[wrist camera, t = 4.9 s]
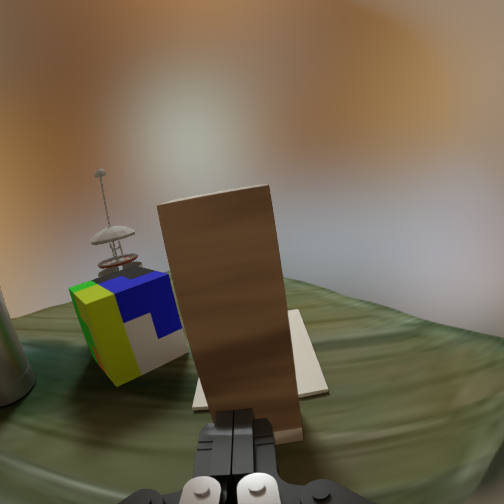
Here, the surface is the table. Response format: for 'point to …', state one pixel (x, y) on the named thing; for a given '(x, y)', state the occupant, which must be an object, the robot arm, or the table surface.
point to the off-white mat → (304, 360)
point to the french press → (110, 236)
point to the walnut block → (234, 303)
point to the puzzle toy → (130, 322)
